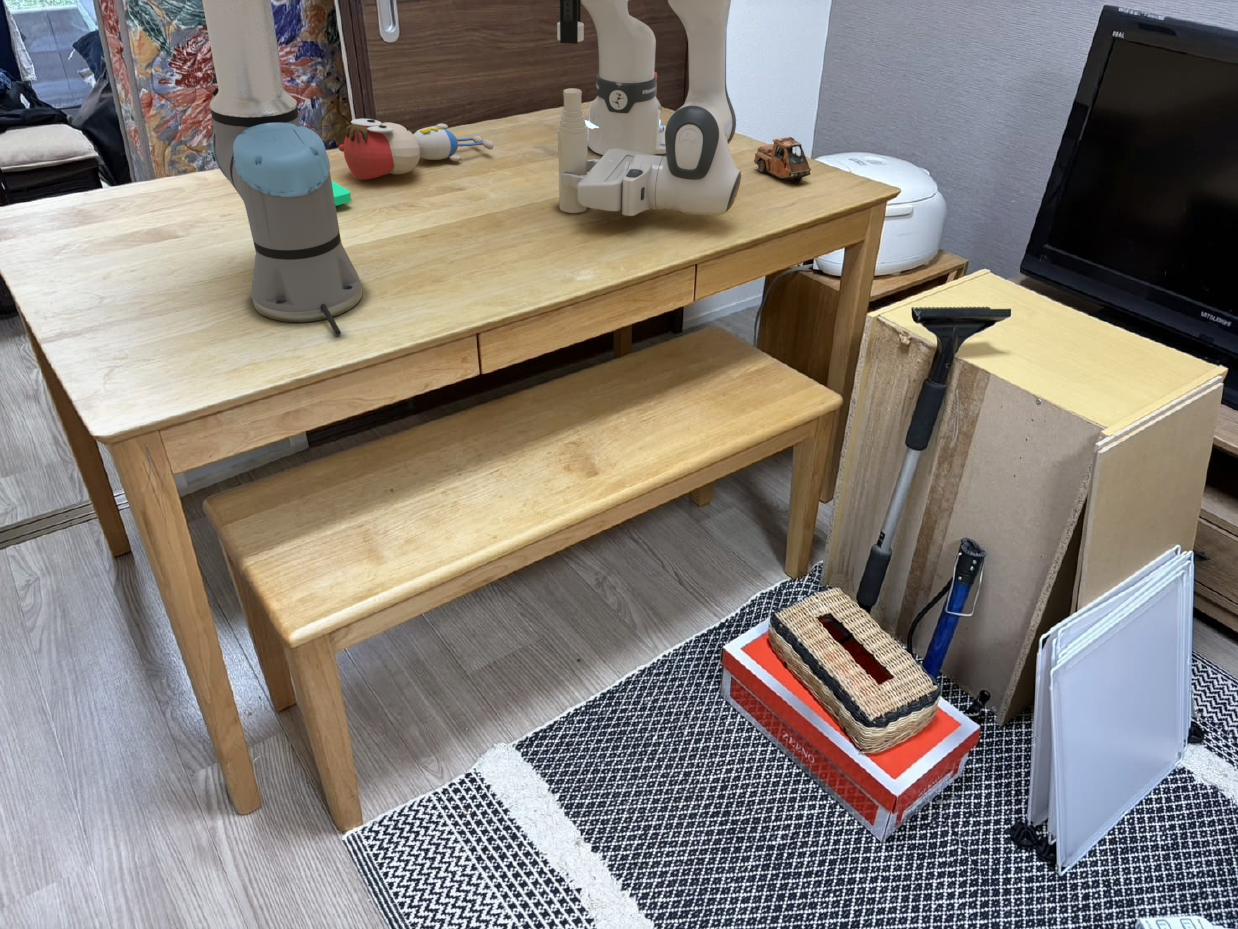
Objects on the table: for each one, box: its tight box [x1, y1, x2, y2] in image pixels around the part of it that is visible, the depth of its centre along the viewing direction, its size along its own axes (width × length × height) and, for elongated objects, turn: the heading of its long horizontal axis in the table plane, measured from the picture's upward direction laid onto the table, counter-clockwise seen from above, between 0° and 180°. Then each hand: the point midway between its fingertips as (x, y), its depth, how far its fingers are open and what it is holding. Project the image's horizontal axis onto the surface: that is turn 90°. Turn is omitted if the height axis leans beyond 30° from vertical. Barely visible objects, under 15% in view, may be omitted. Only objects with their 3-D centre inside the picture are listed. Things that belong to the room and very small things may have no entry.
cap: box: [556, 21, 585, 43], centre depth 148 cm, size 4×4×2 cm
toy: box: [338, 118, 494, 181], centre depth 178 cm, size 18×10×30 cm
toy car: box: [753, 136, 812, 184], centre depth 179 cm, size 6×12×7 cm, turn 39°
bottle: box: [557, 87, 588, 214], centre depth 159 cm, size 5×5×20 cm
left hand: (570, 39), depth 148 cm, fingers closed on cap, 4 cm apart
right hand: (568, 171), depth 162 cm, fingers closed on bottle, 5 cm apart
